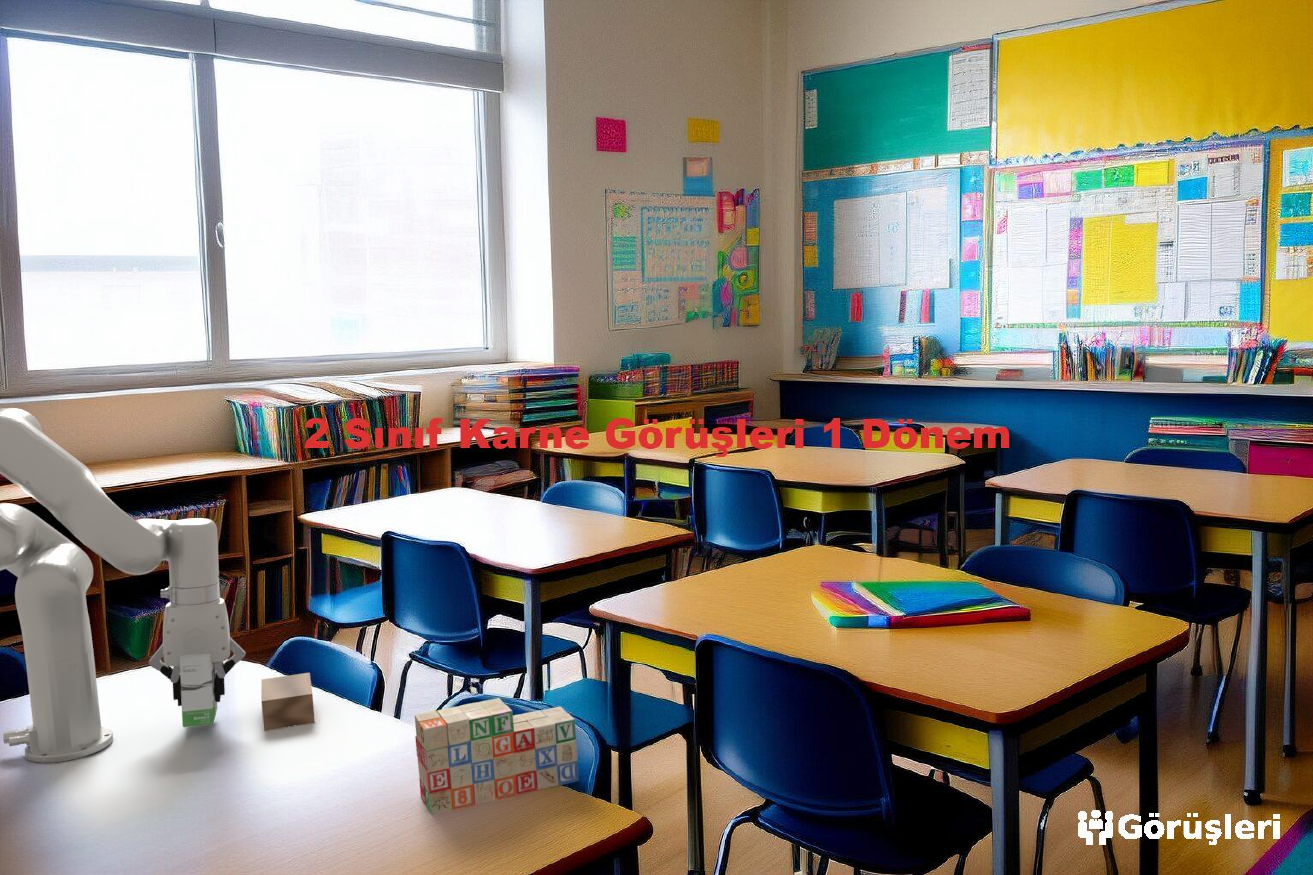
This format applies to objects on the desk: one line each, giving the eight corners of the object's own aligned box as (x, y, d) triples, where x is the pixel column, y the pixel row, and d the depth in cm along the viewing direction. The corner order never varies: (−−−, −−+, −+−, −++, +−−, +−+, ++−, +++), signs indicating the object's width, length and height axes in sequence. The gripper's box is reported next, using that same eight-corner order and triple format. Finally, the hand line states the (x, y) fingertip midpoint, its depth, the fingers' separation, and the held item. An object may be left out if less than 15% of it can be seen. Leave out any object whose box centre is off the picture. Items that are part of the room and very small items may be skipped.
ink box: (213, 725, 182) (211, 654, 181) (181, 728, 181) (178, 657, 179) (218, 707, 190) (215, 640, 189) (187, 710, 189) (184, 642, 188)
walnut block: (264, 730, 183) (261, 701, 183) (263, 707, 195) (261, 679, 194) (314, 722, 186) (312, 693, 185) (311, 699, 197) (309, 672, 197)
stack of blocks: (564, 766, 164) (560, 685, 162) (579, 782, 158) (575, 698, 157) (419, 798, 155) (413, 712, 154) (429, 815, 150) (423, 727, 148)
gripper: (135, 603, 177) (140, 714, 179) (250, 595, 183) (254, 703, 184) (140, 593, 184) (145, 700, 186) (250, 585, 190) (254, 689, 192)
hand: (199, 700), depth 185 cm, fingers closed on ink box, 5 cm apart
